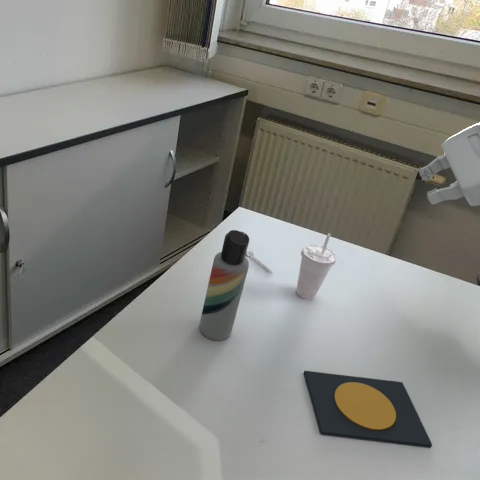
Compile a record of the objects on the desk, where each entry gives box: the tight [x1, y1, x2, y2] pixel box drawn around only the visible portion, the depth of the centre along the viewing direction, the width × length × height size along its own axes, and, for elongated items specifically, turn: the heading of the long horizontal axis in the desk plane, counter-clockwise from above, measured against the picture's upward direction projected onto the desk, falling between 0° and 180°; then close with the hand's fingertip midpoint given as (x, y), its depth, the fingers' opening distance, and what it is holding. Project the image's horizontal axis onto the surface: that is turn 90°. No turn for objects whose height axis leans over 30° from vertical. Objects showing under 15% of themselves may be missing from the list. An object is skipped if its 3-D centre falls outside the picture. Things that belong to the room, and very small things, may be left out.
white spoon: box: [246, 248, 274, 274], centre depth 115 cm, size 14×4×2 cm, turn 30°
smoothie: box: [295, 232, 337, 300], centre depth 103 cm, size 6×6×14 cm
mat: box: [303, 370, 433, 448], centre depth 83 cm, size 16×12×1 cm
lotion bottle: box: [199, 229, 250, 341], centre depth 90 cm, size 6×6×20 cm
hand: (424, 186), depth 90 cm, fingers open, 8 cm apart
